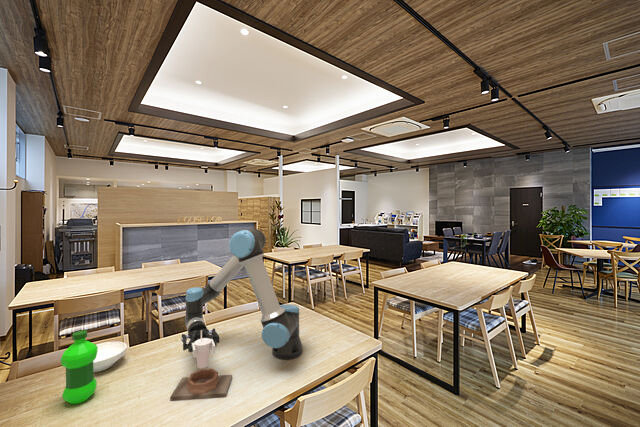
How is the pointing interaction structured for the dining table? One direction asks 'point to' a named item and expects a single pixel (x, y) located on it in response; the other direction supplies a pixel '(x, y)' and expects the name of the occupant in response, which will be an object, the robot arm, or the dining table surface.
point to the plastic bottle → (79, 369)
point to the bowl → (108, 355)
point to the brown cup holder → (202, 386)
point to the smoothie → (202, 351)
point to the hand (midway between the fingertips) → (204, 351)
